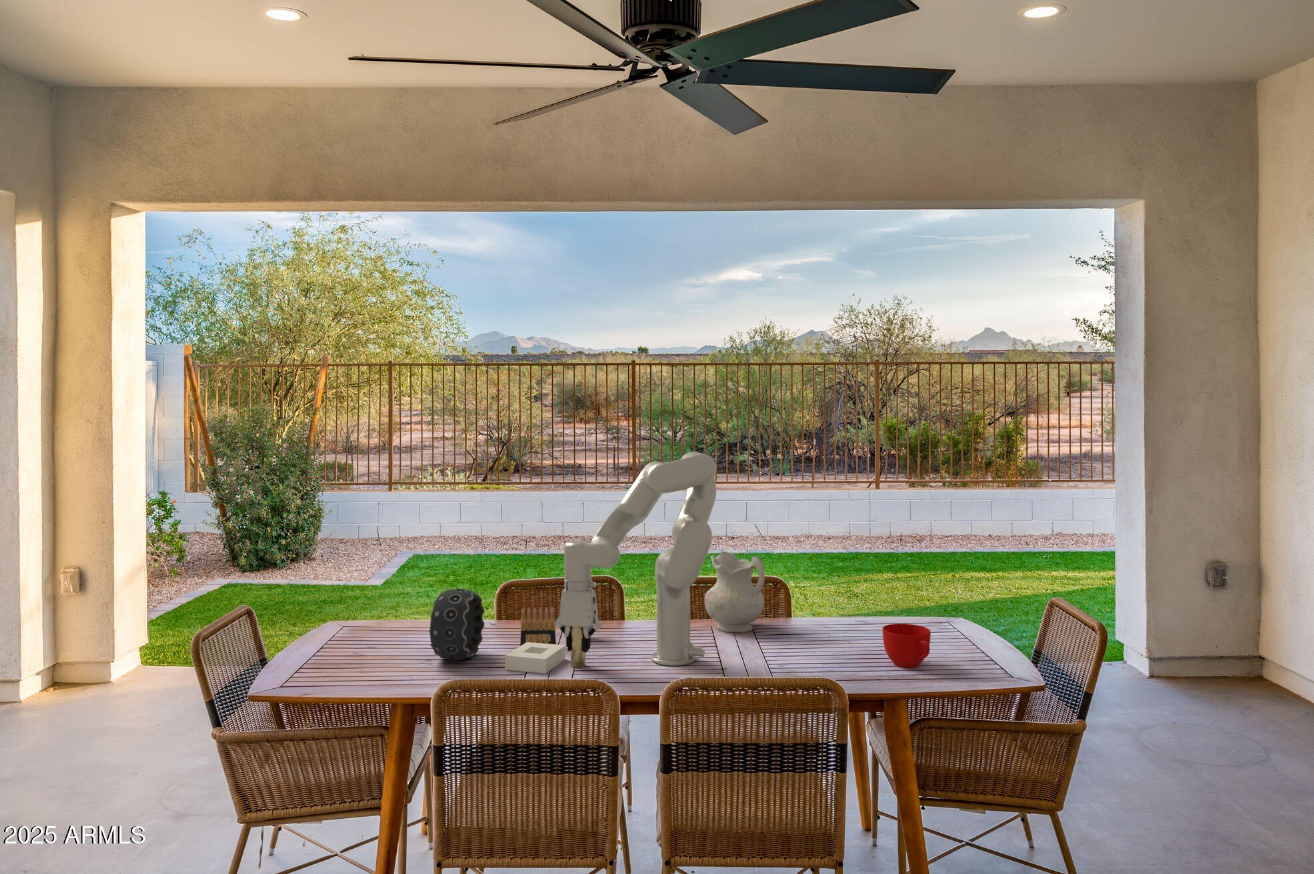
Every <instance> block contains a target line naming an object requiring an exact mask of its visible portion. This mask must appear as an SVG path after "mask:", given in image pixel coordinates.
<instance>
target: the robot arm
mask: <svg viewBox="0 0 1314 874" xmlns="http://www.w3.org/2000/svg"><path fill="white" fill-rule="evenodd" d="M716 472H717V465H716V462H715V460H714V459H713V457H711V456H709V454H706V453H702V452H697V451H690V452H687V453H685V454H684V455H683V456H681V458H679V459H676V460H670V461H665V462H663V461H655V460H654V461H650V462H649V463H647V464H646V465H645V466H644V467H643V468H642V470H641V472H640V473H639V475H638V476H636V479H635V480H634V481H633V483H632V485H630V488H629V490H628V491H627V492H626V494H625V495H624V496H623V498H622V499H621V501H620V503H619V504H618V505H617V506H616V507H615V508H614V509H613V511H612V512H611V513H610V514H609V515H608V517H607V518H606V520H604V522H603V523H602V524H601V526H600V527H599V529H598V530H597V532H596V533H595V535H594V536H593V538H592V540H591V541H590V542H589V541H587V540H571V541H567V542H566V543H565V544H564V547H563V548H564V550H563V551H564V555H563V556H564V559H563V561H564V563H563V565H564V566H563V567H564V569H563V571H564V589H562V592H561V595H560V597H561V598H560V603H559V616H557V618H556V619H555V623H554V624H555V627H556V628H558V629H560V631H561V632H562V633H563V635H564V637H565V644H566V645H565V648H566V649H567V651H566V652H571V626H578V627H583V630H584V638H583V652H584V653H586V654H587V652H588V651H590V649H591V637H592V636H593V635H594V634H595V632H598V631H599V630H600V629H602V628H603V624H602V622H601V621H600V620H599V615H598V603H597V601H598V600H597V597H596V592H595V590H594V589H593V588H596V587H597V583H596V582H595V581H593V579H592V568H597V569H598V568H599V569H610V568H612V567H613V568H614V567H615V566H616V565H618V563H619V562H620V559H621V551H620V549H619V546H620V544H621V543H622V541H623V540H624V538H625V537H626V536H627V534H628V533H629V532H630V531H631V530H632V529H633V528H635V527H637V526H638V525H640V524H641V523H643V522H644V521H646V519H647V518H648V516H649V515H650V513H651V512H652V511H653V508H654V507H655V506H656V504H657V502H658V501H659V499H660V498H661V497H662V495H663V494H664V495H665V494H669V493H675V492H679V491H684V490H686V493H685V495H684V499H683V502H682V504H681V507H680V509H679V511H678V514H677V516H676V519H675V521H674V522H673V523H674V524H673V525H672V529H671V536H672V539H673V540H674V541H675V542H674V546H673V548H669V549H666V550H663V551H662V552H661V553H660V554H659V555H658V557H657V558H656V561H655V566H654V573H655V574H654V576H655V584H656V651H655V652H654V653H652V654H651V661H652V662H653V663H655V664H658V665H663V666H671V667H672V666H674V667H675V666H685V665H689V664H691V663H694V662H695V660H696V657H700V658H704V657H705V649H703V648H702V647H701V648H700V647H695V646H694V642H691V591H690V590H691V589H690V588H691V587H692V585H693V584H694V583H695V582H696V580H697V578H698V577H699V575H700V572H701V569H702V567H703V565H704V563H705V560H706V558H707V555H708V553H709V550H710V547H711V545H712V540H713V531H712V528H711V527H710V525H709V520H710V517H711V513H712V510H713V509H714V506H715V505H714V504H715V502H716V497H717V485H716V479H715V476H716ZM592 625H593V626H594V627H593V628H592V629H591V626H592Z"/></svg>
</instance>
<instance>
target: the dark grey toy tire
mask: <svg viewBox="0 0 1314 874" xmlns="http://www.w3.org/2000/svg"><path fill="white" fill-rule="evenodd" d="M482 602H483V598H482V597H481V596H480V595H479V593H478V592H475V591H473V590H470V589H466V588H452V589H450V588H448V589H445V591H444V592H440V593H439V594H438V596H437V598H436V599H435V600H433V606H432V609H431V613H430V615H429V616H430V620H429V621H430V622H429V623H430V624H429V629H428V633H429V638H430V639H429V640H430V647H431V648H432V651H433V652H434V655H437V656H439V657H440V658H441V659H442V660H443V659H446V660H450V661H462V660H468V659H469V658H472V657H474V655H476V654H477V653H478V652H479V649H480V648H479V645H480V644H481V643H482V642H483V636H482V632H483V630H484V628H485V621H484V619H483V615H484V613H485V608H484V606H483V605H482Z"/></svg>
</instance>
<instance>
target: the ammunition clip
mask: <svg viewBox="0 0 1314 874" xmlns="http://www.w3.org/2000/svg"><path fill="white" fill-rule="evenodd" d="M520 615H521V617H520V618H521V619H520V640H519V641H520V642H519V644H520V645H519V647H520V646H522V645H523V644H525V643H526V642H532V643H544V644H556V645H557V637H556V626H555V624H554V623H555V622H556V616H555V609H554V607H553V606H552V607H551V610H550V616H549V609H548V607H547V606H546V607H545V610H544V614H543V609H542V607H541V606H540V607H539V610H538V611H537V608H536V607H534V608H533V611H531V607H528V608H527V613H526V611H525V607H524V606H523V607H522V608H521V614H520ZM526 615H527V616H526Z"/></svg>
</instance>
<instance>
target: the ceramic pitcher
mask: <svg viewBox="0 0 1314 874" xmlns="http://www.w3.org/2000/svg"><path fill="white" fill-rule="evenodd" d="M710 561H711V563H712V566H713V568H714V570H715V572H716V582H715V584H714V585H713V586H712V587H711V588H710V589H708V591H706V593H705V594H704V604H705V610H706V612H707V614H708V615H709V617H710V618H711V619H712V620H713V621H715V622H718V624H717V626H716V629H718V630H719V631H721V632H724V633H746V632H749V631H753V626H752V625H751V623H754V622H755V621H756V620H758V618H759V617H760V615H761V614H762V612H763V609H764V605H765V599H764V598H765V597H764V593H762V589H763V586H764V584H765V567H764V564H763V561H762V558H761V557H759V556H751V561H749V559H744V558H741V559H740V558H739V559H738V558H737V557H736V555H735V553H730V552H728V551H721V552H719V553H718V555H717V556H716V557H715V556H714V555H710ZM754 569H756V570H757V573H758V574H757V575H758V579H757V582H756V584H755V585H754V584H753V582H752V576H753V572H754Z"/></svg>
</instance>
